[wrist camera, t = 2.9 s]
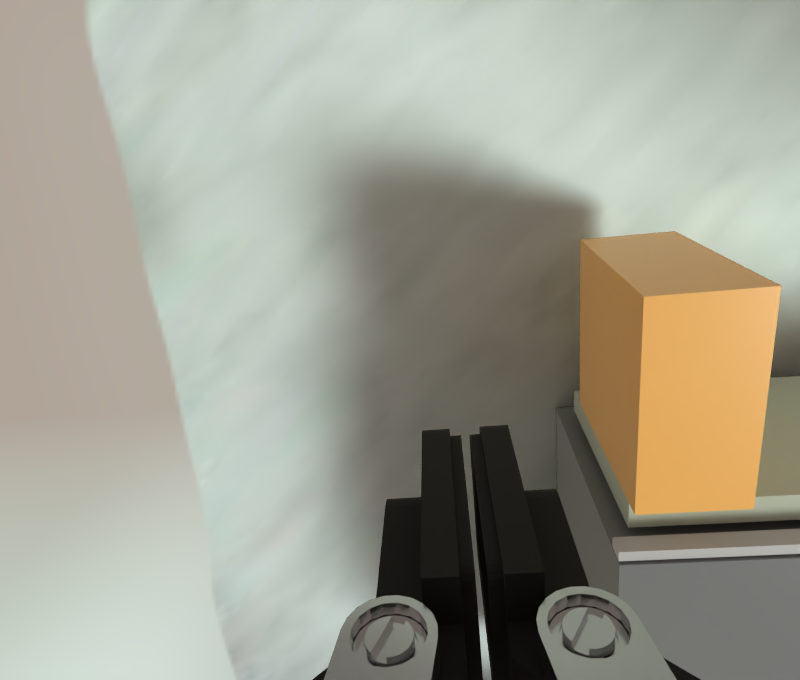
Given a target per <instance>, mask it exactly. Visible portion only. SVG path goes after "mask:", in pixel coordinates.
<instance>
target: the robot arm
mask: <svg viewBox="0 0 800 680" xmlns="http://www.w3.org/2000/svg"><path fill="white" fill-rule="evenodd" d="M470 451H471V466H472V480H473V495H474V509H475V524H476V538H477V551H478V562H479V571H480V580H481V589H482V598H483V606H484V615H485V624H486V633H487V642H488V651H489V660H490V668H491V677H492V680H701V679H699V678H697V677H696V676H694V675H692V674H690V673H689V672H687V671H685V670H684V669H682V668H680V667H679V666H677V665H675V664H673V663H672V662H670V661H668V660H667V659H665V658H663V656H662V655H661V653H660V651H659V650H658V648H657V647H656V645H655V643H654V642H653V640H652V638H651V637H650V635H649V633H648V632H647V630H646V629H645V627H644V625H643V624H642V622H641V620H640V619H639V617H638V616H637V614H636V613H635V612H634V611H633V610H632V608H631V607H630V606H629V605H628V604H627V603H626V602H624V601H623V600H621V599H620V598H619V597H617V596H616V595H614V594H611V593H609V592H606V591H604V590H602V589H598V588H592V587H590V586H589V583H588V580H587V577H586V575H585V572H584V569H583V566H582V563H581V560H580V557H579V554H578V551H577V548H576V545H575V542H574V539H573V536H572V533H571V530H570V527H569V524H568V521H567V518H566V515H565V512H564V509H563V506H562V503H561V500H560V497H559V494H558V492H557V490H556V489H548V490H532V491H524V488H523V484H522V480H521V476H520V472H519V468H518V464H517V460H516V456H515V452H514V448H513V444H512V440H511V436H510V432H509V428H508V425H499V426H484V427H480V434H475V435H470ZM313 680H483V677H482V663H481V649H480V635H479V621H478V607H477V594H476V581H475V570H474V559H473V549H472V540H471V530H470V520H469V511H468V501H467V491H466V481H465V472H464V462H463V452H462V443H461V435H460V436H450V431H449V429H441V430H426V431H422V484H421V497H416V498H400V499H387V501H386V507H385V517H384V527H383V537H382V547H381V557H380V567H379V577H378V587H377V597H376V598H375V599H372V600H369V601H367V602H366V603H364V604H362V605H360V606H359V607H357V608H356V609H355V610H354V611H353V612H352V613H351V614H350V615H349V616H348V617H347V619H346V621H345V622H344V624H343V626H342V628H341V630H340V633H339V636H338V639H337V642H336V645H335V648H334V651H333V654H332V657H331V660H330V663H329V666H328V668H327V669H325V670H324V671H323V672H322V673H320V674H319V675H318V676H317V677H315V678H314V679H313Z"/></svg>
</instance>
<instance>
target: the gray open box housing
mask: <svg viewBox="0 0 800 680" xmlns="http://www.w3.org/2000/svg"><path fill="white" fill-rule="evenodd" d="M556 456H557V492H558V494H559V497H560V500H561V503H562V506H563V509H564V512H565V515H566V518H567V521H568V524H569V527H570V530H571V533H572V536H573V539H574V542H575V545H576V548H577V551H578V554H579V557H580V560H581V563H582V566H583V569H584V572H585V575H586V577H587V580H588V583H589V586H590V587H592V588H598V589H602V590H604V591H606V592H609V593H611V594H614V595H616V596H617V597H619V598H620V599H621V600H623V601H624V602H626V603H627V604H628V605H629V606H630V607H631V608H632V610H633V611H634V612H635V613H636V614H637V616H638V617H639V619H640V620H641V622H642V624H643V625H644V627H645V629H646V630H647V632H648V633H649V635H650V637H651V638H652V640H653V642H654V643H655V645H656V647H657V648H658V650H659V651H660V653H661V655H662V656H663V658H665V659H667V660H668V661H670V662H672V663H673V664H675V665H677V666H679V667H680V668H682V669H684V670H685V671H687V672H689V673H690V674H692V675H694V676H696V677H697V678H699V679H701V680H800V520H781V521H760V522H739V523H718V524H696V525H675V526H654V527H633V528H628V526H627V524H626V522H625V520H624V518H623V515H622V513H621V511H620V509H619V507H618V504H617V502H616V500H615V498H614V496H613V494H612V491H611V489H610V487H609V485H608V483H607V481H606V478H605V476H604V474H603V472H602V470H601V468H600V465H599V463H598V461H597V459H596V457H595V455H594V452H593V450H592V448H591V446H590V444H589V442H588V439H587V437H586V435H585V433H584V431H583V429H582V426H581V424H580V422H579V420H578V418H577V416H576V413H575V411H574V407H564V408H556Z"/></svg>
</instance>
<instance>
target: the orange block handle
mask: <svg viewBox="0 0 800 680" xmlns="http://www.w3.org/2000/svg"><path fill="white" fill-rule="evenodd" d="M780 294H781V285H779V284H777V283H775V282H773V281H771V280H769V279H767V278H765V277H763V276H761V275H759V274H757V273H755V272H753V271H751V270H749V269H747V268H746V267H744V266H742V265H740V264H738V263H736V262H734V261H732V260H730V259H728V258H726V257H724V256H722V255H720V254H718V253H716V252H714V251H712V250H710V249H708V248H706V247H704V246H702V245H701V244H699V243H697V242H695V241H693V240H691V239H689V238H687V237H685V236H683V235H681V234H679V233H677V232H675V231H672V232H660V233H649V234H637V235H626V236H615V237H603V238H592V239H581V240H580V391H574V411H575V413H576V416H577V418H578V420H579V422H580V424H581V426H582V429H583V431H584V433H585V435H586V437H587V439H588V442H589V444H590V446H591V448H592V450H593V452H594V455H595V457H596V459H597V461H598V463H599V465H600V468H601V470H602V472H603V474H604V476H605V478H606V481H607V483H608V485H609V487H610V489H611V491H612V494H613V496H614V498H615V500H616V502H617V504H618V507H619V509H620V511H621V513H622V515H623V518H624V520H625V522H626V524H627V526H628V528H633V527H654V526H675V525H696V524H718V523H739V522H760V521H781V520H800V376H792V377H777V378H770V375H771V367H772V359H773V350H774V342H775V334H776V326H777V318H778V310H779V302H780Z"/></svg>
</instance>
